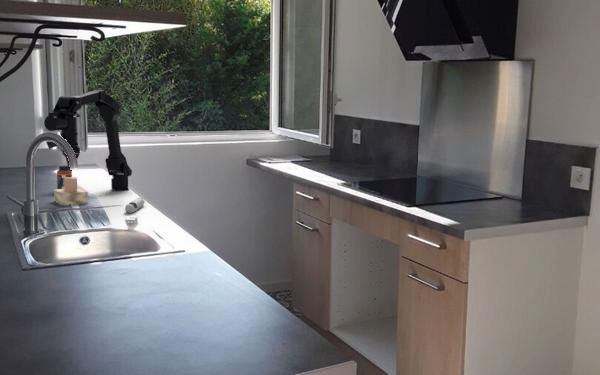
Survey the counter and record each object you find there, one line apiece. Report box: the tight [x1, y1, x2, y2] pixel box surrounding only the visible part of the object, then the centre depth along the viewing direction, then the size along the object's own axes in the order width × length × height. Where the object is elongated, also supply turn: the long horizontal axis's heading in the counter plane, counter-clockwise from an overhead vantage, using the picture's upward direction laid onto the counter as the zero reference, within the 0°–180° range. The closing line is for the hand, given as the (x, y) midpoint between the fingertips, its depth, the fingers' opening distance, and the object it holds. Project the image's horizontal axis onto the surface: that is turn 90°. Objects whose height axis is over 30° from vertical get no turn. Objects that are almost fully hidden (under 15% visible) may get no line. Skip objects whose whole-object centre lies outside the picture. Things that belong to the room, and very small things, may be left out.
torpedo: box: [124, 189, 147, 214], centre depth 241 cm, size 18×5×6 cm, turn 178°
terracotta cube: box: [64, 176, 78, 192], centre depth 249 cm, size 4×4×5 cm
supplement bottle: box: [56, 164, 73, 189], centre depth 271 cm, size 6×6×11 cm
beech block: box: [53, 187, 89, 206], centre depth 250 cm, size 10×10×5 cm
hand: (70, 169), depth 248 cm, fingers open, 9 cm apart
